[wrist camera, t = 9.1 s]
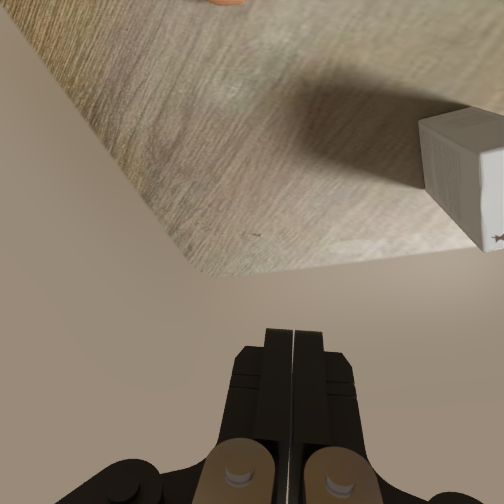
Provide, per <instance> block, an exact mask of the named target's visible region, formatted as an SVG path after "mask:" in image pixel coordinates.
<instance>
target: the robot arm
mask: <svg viewBox="0 0 504 504" xmlns="http://www.w3.org/2000/svg"><path fill="white" fill-rule="evenodd" d="M292 341H293V330H286V329H270V328H266V334H265V342H264V347H255V346H245V347H244V348H243V350H242V351H241V352H240V353H239V354H238V355H237V357H236V358H235V361H234V366H233V371H232V376H231V380H230V385H229V390H228V395H227V399H226V404H225V409H224V414H223V419H222V424H221V428H220V433H219V438H218V441H217V444H216V446H215V447H214V448H213V449H212V451H211V452H210V453H209V455H208V456H207V457H206V458H205V459H204V460H203V461H201V462H199V463H198V464H196V465H194V466H191V467H189V468H186V469H182V470H177V471H172V472H168V473H163V474H159V472H158V470H157V469H156V468H155V467H154V466H153V465H152V464H150V463H149V462H147V461H144V460H140V459H126V460H122V461H118V462H116V463H113V464H111V465H110V466H108V467H106V468H105V469H103V470H102V471H100V472H99V473H98V474H96V475H95V476H93V477H92V478H91V479H89V480H88V481H86V482H85V483H83V484H82V485H81V486H79V487H78V488H76V489H75V490H74V491H72V492H71V493H69V494H68V495H66V496H65V497H64V498H62V499H61V500H59V501H58V502H56V503H55V504H286V491H287V477H288V462H289V491H288V492H289V493H288V504H483V503H482V502H480V501H478V500H477V499H475V498H473V497H471V496H468V495H465V494H462V493H457V492H443V493H440V494H437V495H435V496H434V497H432V498H431V499H430V500H429V502H428V501H425V500H423V499H420V498H418V497H416V496H413V495H411V494H408V493H406V492H403V491H401V490H399V489H397V488H395V487H393V486H392V485H390V484H388V483H387V482H386V481H385V480H383V479H382V478H381V477H380V476H379V475H378V474H377V473H376V471H375V470H374V469H373V468H372V466H371V464H370V462H369V460H368V458H367V455H366V451H365V445H364V439H363V433H362V426H361V420H360V415H359V408H358V402H357V395H356V389H355V386H354V377H353V371H352V366H351V365H350V364H349V362H348V361H347V360H346V358H345V357H344V355H343V354H342V353H338V352H325V351H324V348H323V336H322V332H316V331H302V330H301V331H300V330H295V337H294V351H293V367H292ZM291 381H292V383H291ZM289 448H290V453H289Z"/></svg>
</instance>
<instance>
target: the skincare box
mask: <svg viewBox="0 0 504 504" xmlns="http://www.w3.org/2000/svg"><path fill="white" fill-rule="evenodd" d="M418 126H419V136H420V145H421V155H422V163H423V172H424V181H425V190H426V192H427V193H428V194H429V195H430V196H431V197H432V198H433V199H434V200H435V202H436V203H437V204H438V205H439V206H440V207H441V208H442V209H443V210H444V211H445V212H446V213H447V214H448V215H449V216H450V218H451V219H452V220H453V221H454V222H455V223H456V224H457V225H458V226H459V227H460V228H461V229H462V230H463V231H464V232H465V234H466V235H467V236H468V237H469V238H470V239H471V240H472V241H473V242H474V243H475V244H476V245H477V246H478V248H479V249H480V250H481V251H482V252H484V253H485V252H489V251H494V250H499V249H504V116H502V115H499V114H496V113H493V112H489V111H486V110H483V109H480V108H476V107H468V108H465V109H461V110H457V111H453V112H449V113H445V114H441V115H437V116H433V117H429V118H425V119H421V120H419V121H418Z"/></svg>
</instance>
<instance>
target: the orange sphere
mask: <svg viewBox="0 0 504 504" xmlns="http://www.w3.org/2000/svg"><path fill="white" fill-rule="evenodd" d="M207 1H208V2H210V3H213V4H215V5H219V6H233V5H237V4H240V3H242V2H244V1H245V0H207Z"/></svg>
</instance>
